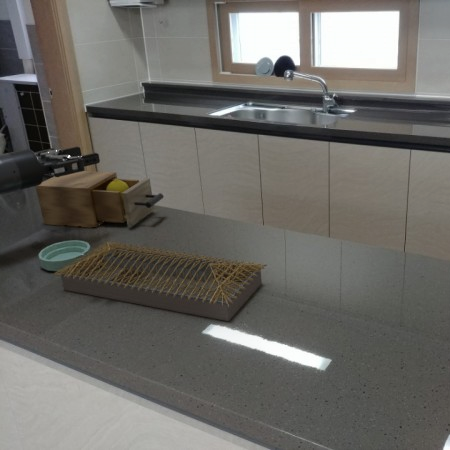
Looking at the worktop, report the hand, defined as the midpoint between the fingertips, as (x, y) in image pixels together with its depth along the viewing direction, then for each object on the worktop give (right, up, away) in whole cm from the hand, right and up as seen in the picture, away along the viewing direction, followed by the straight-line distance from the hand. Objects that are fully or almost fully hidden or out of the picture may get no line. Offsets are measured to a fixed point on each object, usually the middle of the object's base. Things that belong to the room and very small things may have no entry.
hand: (89, 154), depth 116 cm
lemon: (+4, -12, +9) cm, 16 cm away
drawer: (+5, -13, +9) cm, 17 cm away
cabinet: (-6, -13, +12) cm, 19 cm away
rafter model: (+21, -27, -20) cm, 40 cm away
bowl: (-1, -23, -10) cm, 25 cm away
